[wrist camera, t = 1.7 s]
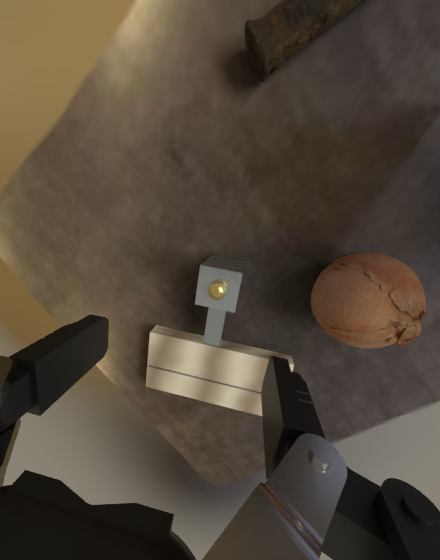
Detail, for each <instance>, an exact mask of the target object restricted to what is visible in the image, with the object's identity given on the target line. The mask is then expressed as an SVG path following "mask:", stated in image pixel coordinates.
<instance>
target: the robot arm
mask: <svg viewBox="0 0 440 560" xmlns="http://www.w3.org/2000/svg"><path fill="white" fill-rule="evenodd" d="M108 327H109V322H108V319H107V318H105V317H101V316H96V315H88V316H86V317H85V318H83V319H81V320H80V321H78V322H75V323H72V324H69V325H65V326H63V327H61V328H59V329H58V330H56V331H54V332H53V333H51V334H49V335H47V336H45V337H44V339H43V338H42V339H40V340H38V341H36V342H35V343H33V344H31V345H29V346H28V347H26V348H24V349H22V350H20V351H19V352H17V353H15V354H13V355H12V356H10V357H6V356H0V560H196V559H195V557H194V555H193V554H192V552H191V551H190V549H189V548H188V546H187V545H186V544H185V543H184V542H183V541H182V540H181V539H180V537H179V536H178V535H176V534H175V533H174V532H173V531H171V529H172V523H173V516H174V514H171V513H168V512H164V511H161V510H157V509H154V508H151V507H148V506H144V505H141V504H138V503H127V504H126V503H125V504H105V505H90V504H88V503H86V502H85V501H84V500H83V499H82V498H80V497H79V496H78V495H77V494H76V493H74V492H73V491H72V490H71V489H70V488H69V487H67V486H66V485H65V484H64V483H63V482H62V481H60V480H57V479H54V478H51V477H47V476H44V475H41V474H37V473H34V472H30V471H27V470H25V471H24V472H23V473H22V474H21V476H20V477H19V478H18V479H17V480H16V481H15V482H14V483H13V484H12V485H7V486H3V481H4V476H5V473H6V469H7V466H8V463H9V460H10V456H11V453H12V450H13V447H14V444H15V440H16V437H17V434H18V431H19V427H20V423H21V421H20V417H21V416H23V415H24V414H25V413H26V412H28V413H32V414H35V415H39V416H40V415H41V414H43V413H44V412H45V411H46V410H47V409H48V408H49V407H50V406H51V405H52V404H53V403H54V402H56V401H57V400H58V399H59V398H60V397H61V396H62V395H63V394H64V393H65V392H66V391H67V390H68V389H69V388H71V387H72V386H73V385H74V384H75V383H76V382H77V381H78V380H79V379H80V378H81V377H83V375H85V374H86V373H87V372H88V371H89V370H90V369H91V368H92V367H93V366H94V365H95V364H97V363H98V362H99V361H100V360H101V359H102V358H103V357H104V355H105V353H106V351H107V348H108ZM309 394H310V393H309V390H308V387H307V384H306V382H305V381H304V380H303V379H302V377H301V376H300V375H299V374H298V373H294V372H291V369H290V365H289V361H288V359H285V358H280V357H276V356H270V358H269V361H268V365H267V369H266V372H265V376H264V380H263V384H262V390H261V403H262V419H263V435H264V451H265V466H266V479H268V481H267V482H266V483H265V484H263V483H260V484H259V485H258V486H257V487H256V488H255V489H254V490H253V492H252V493H251V494H250V496H249V497H248V498H247V500H246V501H245V503H244V504H243V505H242V507H241V508H240V509H239V511H238V512H237V513H236V515H235V516H234V517H233V519H232V520H231V521H230V523H229V524H228V525H227V527H226V528H225V529H224V531H223V532H222V533H221V535H220V536H219V537H218V539H217V540H216V541H215V543H214V544H213V546H212V547H211V548H210V550H209V551H208V552H207V554H206V555H205V556H204V558H203V559H202V560H319V558H320V555H321V551H322V552H323V553H325V554H326V555H327V556H329V557H330V558H331V559H333V560H440V512H439V510H438V509H437V508H436V506H435V505H434V504H433V503H432V502H431V501H430V500H429V499H428V498H427V497H426V496H425V495H423V494H422V493H421V492H420V491H418V490H417V489H416V488H414V487H413V486H411V485H410V484H408V483H406V482H404V481H401V480H399V479H395V478H389V479H386V480H385V481H384V482H383V484H382V486H381V487H380V486H378V485H377V484H375V483H373V482H371V481H370V480H368V479H366V478H364V477H362V476H361V475H359V474H357V473H355V472H354V471H352V470H351V469H349V468H348V467H347V466H346V464H345V462H344V460H343V458H342V457H341V455H340V453H339V452H338V451H337V450H336V448H335V447H334V446H333V445H332V444H331V443H329V442H328V441H327V440H326V439H325V436H324V433H323V430H322V428H321V425H320V422H319V419H318V416H317V413H316V410H315V407H314V405H313V404H312V399H311V396H310V395H309Z"/></svg>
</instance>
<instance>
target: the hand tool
mask: <svg viewBox="0 0 440 560" xmlns="http://www.w3.org/2000/svg"><path fill="white" fill-rule="evenodd" d="M362 1H363V0H283V1H282V2H281V3H280V4H278V5H277V6H275V7H274V8H273V9H272V10H270V12H268V13H267V14H266V15H265V16H263V17H262V18H260V19H257V20H248V21H247V22H246V24H245V40H246V41H245V44H246V47H247V51H248V54H249V57H250V59H251V62H252V65H253V67H254V70H255V72H256V74H257V75H258V77H259V78H260V80H261V81H265V80H266V78H267V76H268V73H269V72H270V71H271V70H277V69H278V68H279V67H280V66H282V64H283V61H284V60H285V59H287V58H288V57H289V56H290V55H292V54H293V53H295V52H296V51H297V50H299V49H301V48H303V47H304V46H305V45H306V44H308V43H309V42H311V41H312V40H313V39H314V38H315V37H316V36H317V35H318V34H319V33H321V32H322V31H323V30H324V29H326V28H327V27H329V26H333V24H334V23H335V22H336V21H337V20H338V19H340V18H341V17H342V16H343V15H345V14H346V13H347V12H349V11H350V10H352V9H353V8H354V7H355V6H356V5H358V4H359V3H360V2H362Z"/></svg>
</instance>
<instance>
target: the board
mask: <svg viewBox="0 0 440 560" xmlns="http://www.w3.org/2000/svg"><path fill="white" fill-rule="evenodd" d="M203 340H204V336H203V335H198V334H194V333H189V332H185V331H180V330H176V329H172V328H167V327H163V326H158V325H156V326H155V327H154V328H153V329H152V330H151V331H150V338H149V351H148V363H147V376H146V387H149V388H153V389H157V390H161V391H165V392H169V393H173V394H177V395H181V396H185V397H189V398H193V399H196V400H200V401H204V402H208V403H212V404H216V405H220V406H224V407H228V408H232V409H236V410H240V411H244V412H248V413H251V414H255V415H259V416H262V403H261V390H262V384H263V380H264V376H265V372H266V369H267V365H268V361H269V358H270V356H276V357H280V358H285V359H288V361H289V365H290V369H291V372H292V371H293V367H294V363H293V359H292V356H291V355H287V354H283V353H278V352H274V351H269V350H265V349H260V348H256V347H252V346H247V345H243V344H238V343H234V342H229V341H225V340H221V342H220V346H217V345H213V344H209V343H204V342H203Z"/></svg>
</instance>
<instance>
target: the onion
mask: <svg viewBox="0 0 440 560" xmlns="http://www.w3.org/2000/svg"><path fill="white" fill-rule="evenodd" d="M331 262H332V264H330V265H328V266H327V267H326V268H325V269H324V270H323V271H322V272H321V273H320V275H319V276H318V278H317V280H316V282H315V284H314V287H313V290H312V293H311V306H312V312H313V315H314V317H316V320H317V321H318V323H319V324H320V326H321V327H322V329H323V330H324V331H325V332H326V333H328V334H329V335H331V336H332V337H334V338H335V339H337V340H339V341H341V342H343V343H345V344H348V345H350V346H354V347H359V348H380V347H385V346H388V345H391V344H393V343H397V344H399V345H401V346H404V345H405V344H408V343H409V342H410V341H411V340H413V339H414V340H417V339H415V337H418V336H419V335H420V333H421V331H422V327H421V324H420V323H421V321H422V319H423V318H424V317H425V316H426V314H427V313H426V310H425V294H424V290H423V287H422V285H421V282H420V280H419V278H418V277H417V275H416V274H415V273H414V271H413V270H412V269H411V268H410V267H409V266H407V265H406V264H404V263H403V262H401V261H399V260H398V259H395V258H393V257H391V256H389V255H385V254H380V253H372V252H364V253H357V254H354V253H351V254H349V255H346V256H343V257H340V258H338V259H335V260H333V261H331Z"/></svg>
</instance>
